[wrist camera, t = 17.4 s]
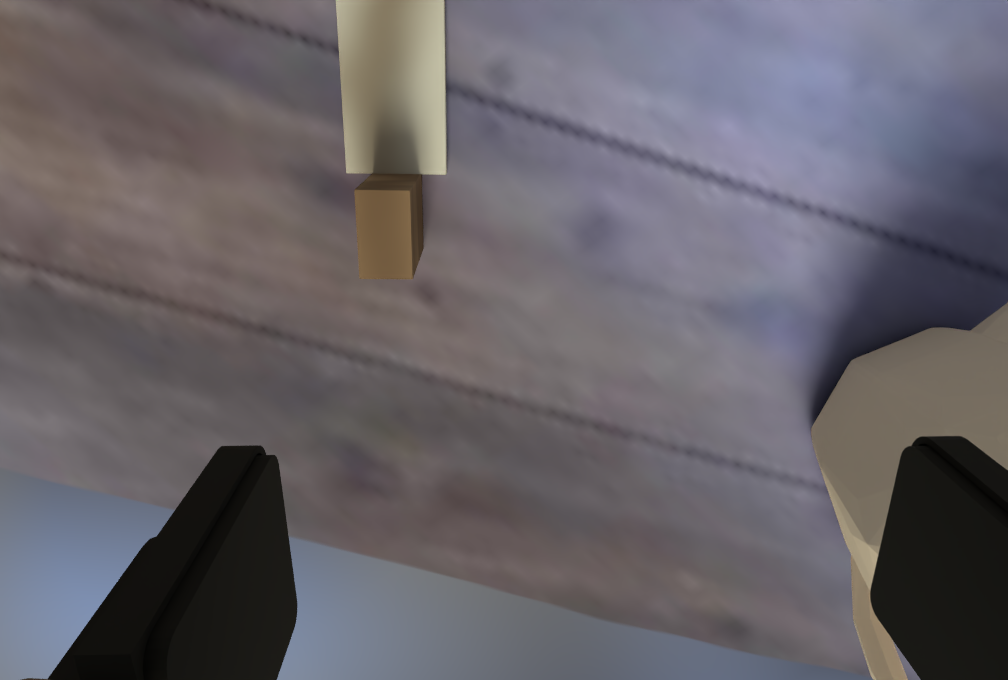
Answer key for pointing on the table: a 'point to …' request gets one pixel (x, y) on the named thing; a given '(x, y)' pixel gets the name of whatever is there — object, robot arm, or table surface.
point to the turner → (392, 123)
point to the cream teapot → (905, 439)
